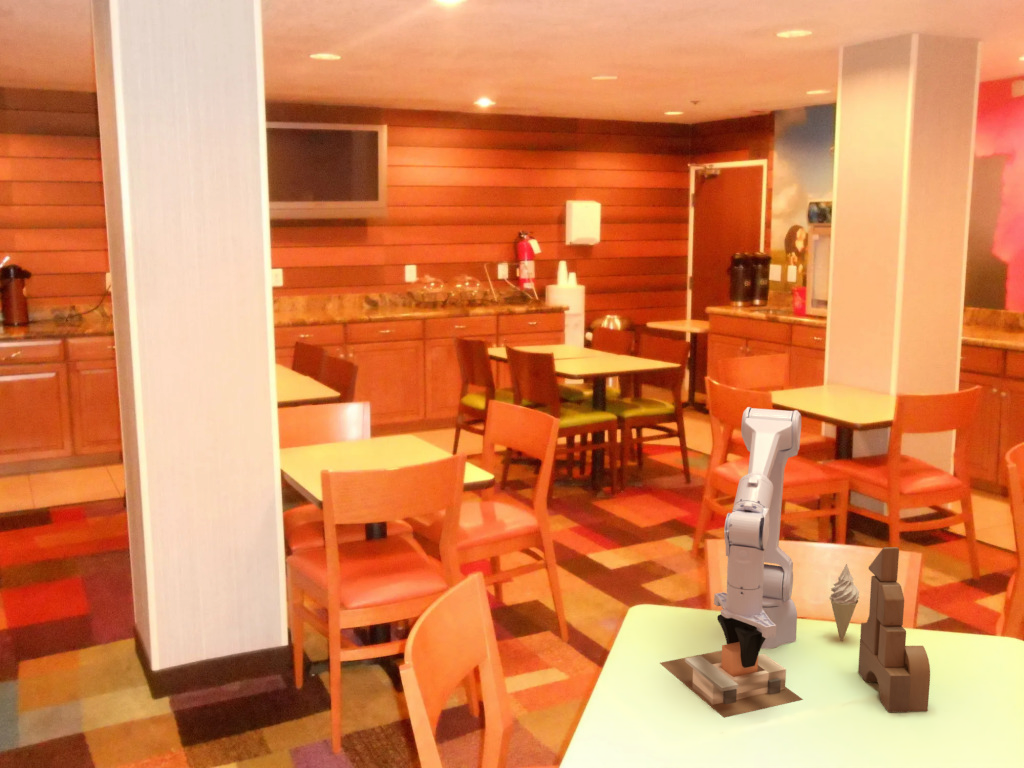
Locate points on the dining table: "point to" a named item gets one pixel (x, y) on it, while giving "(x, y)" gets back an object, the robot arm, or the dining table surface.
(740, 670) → the orange upright block
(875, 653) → the wooden toy
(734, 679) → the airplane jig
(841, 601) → the ice cream cone
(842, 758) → the dining table surface
